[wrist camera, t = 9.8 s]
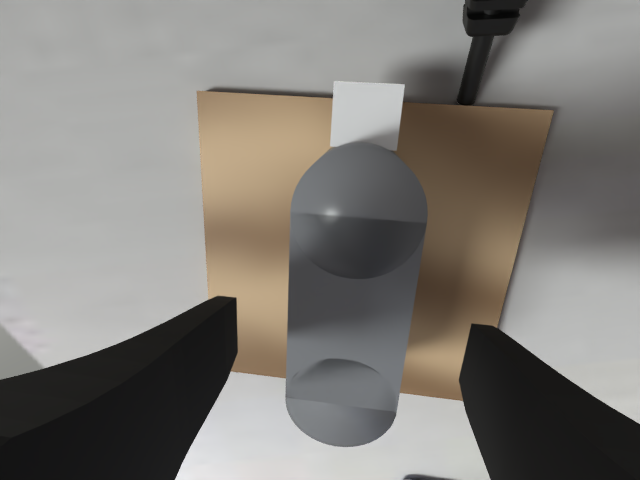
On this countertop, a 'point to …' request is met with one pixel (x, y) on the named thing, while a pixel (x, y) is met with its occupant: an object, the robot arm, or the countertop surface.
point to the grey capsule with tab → (353, 272)
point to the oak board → (441, 231)
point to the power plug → (484, 38)
